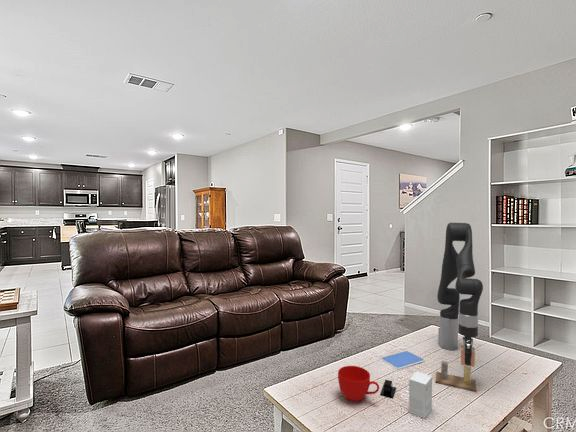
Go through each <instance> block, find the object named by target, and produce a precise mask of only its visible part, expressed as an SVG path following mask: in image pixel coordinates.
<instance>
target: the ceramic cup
mask: <svg viewBox="0 0 576 432" xmlns="http://www.w3.org/2000/svg"><path fill="white" fill-rule="evenodd" d="M337 380H338V386H339V389H340V391H341V393H342V395H343V396H344V397H345V399H346V400H347V401H349V402H354V403H355V402H360V401H362V400H363V398H365V397H366V395H374V394H376V393H378V392H379V390H380V385H379V383H378V382H377V381H373V380H371V374H370V372H369V370H367V369H366V368H364V367H360V366H357V365H346V366H342V367H341V368H339V370H338V371H337ZM370 380H371V381H370ZM370 385H375V386H376V390H374V391H369V388H370Z"/></svg>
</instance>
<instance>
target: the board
mask: <svg viewBox="0 0 576 432" xmlns="http://www.w3.org/2000/svg"><path fill="white" fill-rule="evenodd" d="M448 367H449V363H448V362H447V361H444V360H443V361H442V360H441V363H440V371H441V372H438V371H436V372H435V380H434V381H435V384H438V385H443V386H446V387H447V386H448V387H451V388H456V389H459V390H460V389H461V390H466V391H469V392H473V393H477V391H478V390H477V383H476V380H475V379H472V378H471V382H470V385H468V384H464V376H458V375H453V374H449V371H448V369H449V368H448Z"/></svg>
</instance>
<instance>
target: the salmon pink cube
mask: <svg viewBox="0 0 576 432" xmlns="http://www.w3.org/2000/svg"><path fill="white" fill-rule="evenodd" d="M466 353H467V354H470V352H466ZM464 354H465V350H464V346H463V344H461V345H460V365H462V366H469V367H471V368H475V365H476V363H475V362H476V360H475V359H476V358H475V357H476V351H475V347H474V346H473V351H472V354H471V355H472V357H471V365H465V355H464Z"/></svg>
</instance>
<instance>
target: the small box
mask: <svg viewBox="0 0 576 432" xmlns="http://www.w3.org/2000/svg"><path fill="white" fill-rule="evenodd" d="M408 382H409V383H408V412H409V413H410V414H413V415H415V416H417V417H420V418H422V419H426V418H427V417H428V415H430V412H431V410H432V408H433V375H430V374H426V373H425V372H424V373H423V372H421V371H415V372H414V373H413V374H412V375H411V376H410V378H409V379H408Z"/></svg>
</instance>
